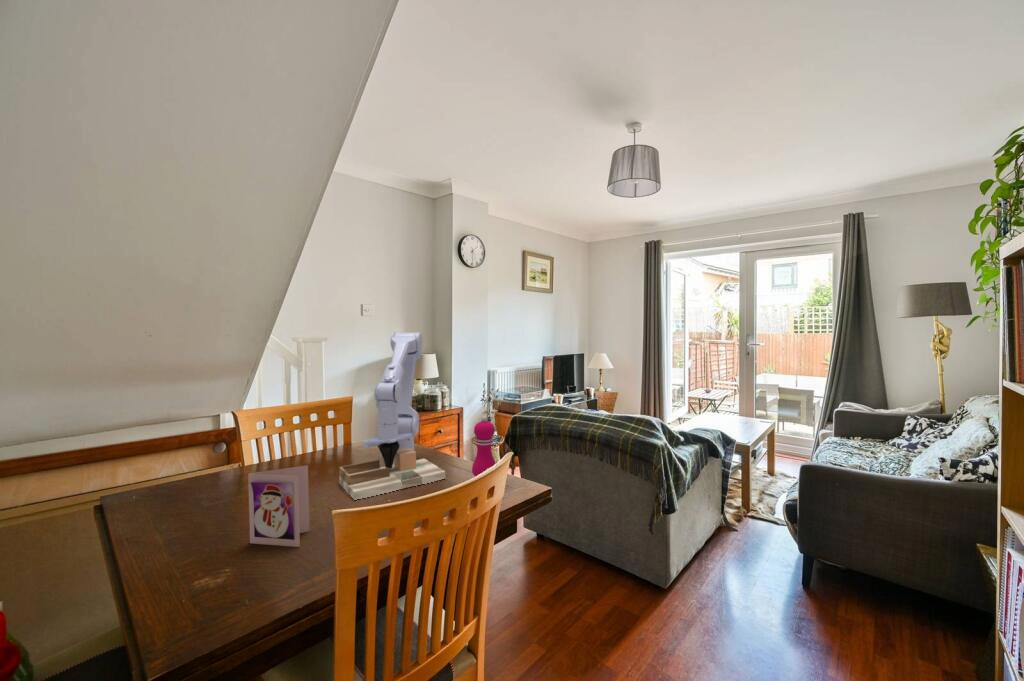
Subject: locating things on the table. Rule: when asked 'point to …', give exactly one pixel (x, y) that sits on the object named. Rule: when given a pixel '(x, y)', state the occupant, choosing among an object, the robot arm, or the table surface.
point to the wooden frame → (364, 476)
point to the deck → (395, 480)
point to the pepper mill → (483, 446)
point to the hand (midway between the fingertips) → (388, 467)
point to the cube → (405, 459)
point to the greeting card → (279, 506)
